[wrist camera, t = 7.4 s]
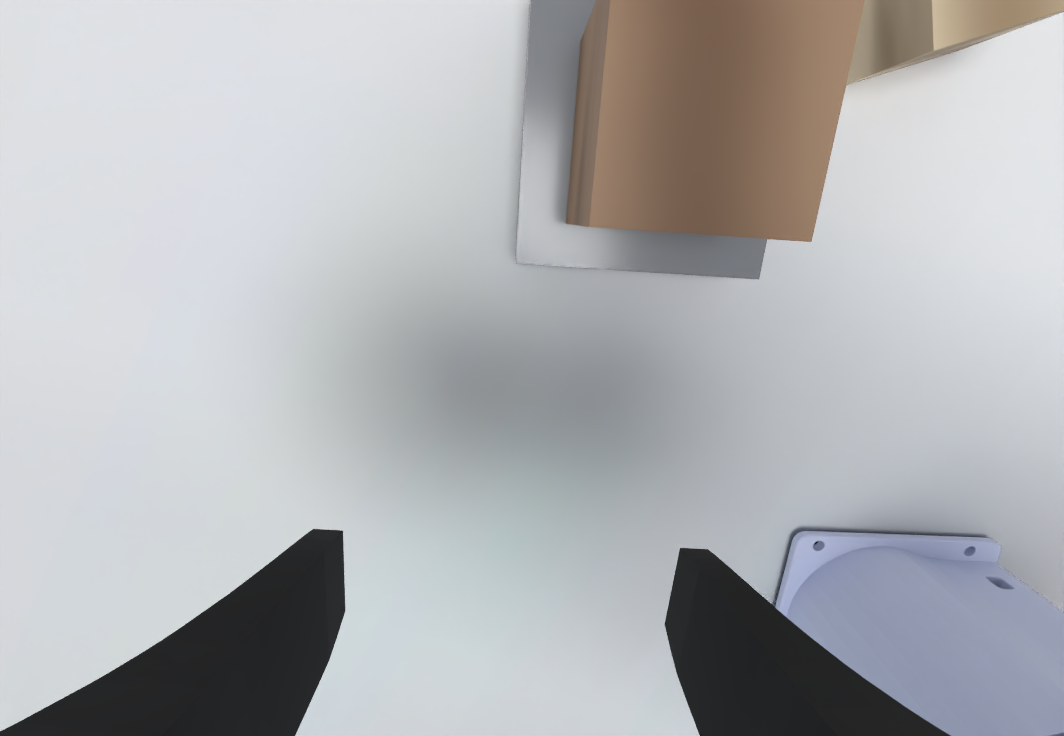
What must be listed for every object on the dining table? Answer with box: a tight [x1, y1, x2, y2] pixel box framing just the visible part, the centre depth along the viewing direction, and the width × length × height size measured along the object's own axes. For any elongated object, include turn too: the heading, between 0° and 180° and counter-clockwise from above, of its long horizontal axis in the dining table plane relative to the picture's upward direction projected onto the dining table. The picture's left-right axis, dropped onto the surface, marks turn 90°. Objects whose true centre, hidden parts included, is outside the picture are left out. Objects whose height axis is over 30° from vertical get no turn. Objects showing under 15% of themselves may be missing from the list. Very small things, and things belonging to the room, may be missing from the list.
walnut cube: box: [566, 0, 865, 242], centre depth 13 cm, size 5×5×5 cm
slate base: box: [516, 0, 767, 279], centre depth 16 cm, size 8×8×2 cm
